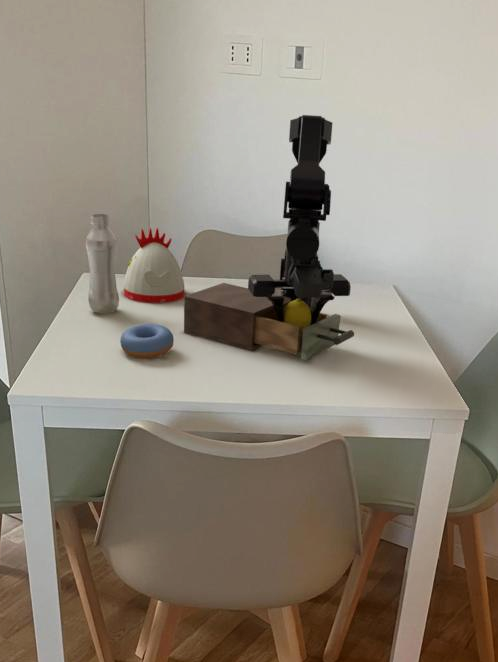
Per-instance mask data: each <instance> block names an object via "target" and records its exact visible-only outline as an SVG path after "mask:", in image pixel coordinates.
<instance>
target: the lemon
mask: <svg viewBox="0 0 498 662" xmlns="http://www.w3.org/2000/svg"><path fill="white" fill-rule="evenodd" d="M283 322H285V323H289V324H293V325H297V326H301V332H300V336H302V335H303V329H304V328H306V327H308V326H310V324H311V311H310V308H309V306H308V305H307V304H306V303H305V302H303V301H301V300H300V299H296V300H294V301H292V302H290V303H289V304H288V305H287V306H286V308H285V310H284V313H283Z"/></svg>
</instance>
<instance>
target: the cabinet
mask: <svg viewBox="0 0 498 662" xmlns="http://www.w3.org/2000/svg"><path fill="white" fill-rule="evenodd" d="M283 298H284V303H283V305H284V304H286V305H288V304H289V303H290V302H291V298H288V297H284V296H283ZM183 304H184V305H183V333H184V334H187V335H190V336H195V337H197V338H201V339H205V340H208V341H213V342H216V343H220V344H224V345H227V346H231V347H234V348H238V349H242V350H245V351H250V352H253V351H256V350H257V349H260V348H262V347H264V346H263V345H259V344H256V343H254V338H255V319H256V316H257V315H260V314H262V313H265V312H267V311H269V310H272V309H274V307H273V305H272V302H271V301H269V300H268V299H267V298H266V297H255V296H253V295H252V293H251V292H250V291H249V289H248V287H244V286H240V285H236V284H231V283H227V282H222V283H219V284H216V285H214V286H209V287H206V288H204V289H201V290H198V291H196V292H192V293H188V294H186V295H184V297H183Z"/></svg>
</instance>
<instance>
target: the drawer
mask: <svg viewBox="0 0 498 662" xmlns="http://www.w3.org/2000/svg"><path fill="white" fill-rule="evenodd" d="M286 306H287V305H286V304H284V305H283V313H284V310H285V308H286ZM340 323H341V314H338V313H334V314H332V315H330V316H328V313H324V312H320V314H319V316H318V318H317V320H316V323H315V324H313V325H311V326H308V327H306V328H304V329H303V335H302V336H300V332H301V326H297V325H293V324H289V323H285V322H280V321H277V318H276V314H275V311H274V309H272V310H269V311H267V312H265V313H262V314H260V315H257V316H256V319H255V338H254V343H256V344H259V345H263V346H262V347H267V348H270V349H275V350H279V351H283V352H287V353H290V354H293V355H299V354H300V359H301V360H305V361H307V360H309V359H311V358H313V357H315V356H317V355H318V354H321V353H322V352H324V351H326V350H328V349H330V348H332V347H334V346H338V345H340V344H343V343H344V342H346V341H348V340H350V339H351V338H354V337H355V332H354V330H352V329H349V330H344V329H340V325H341V324H340Z"/></svg>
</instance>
